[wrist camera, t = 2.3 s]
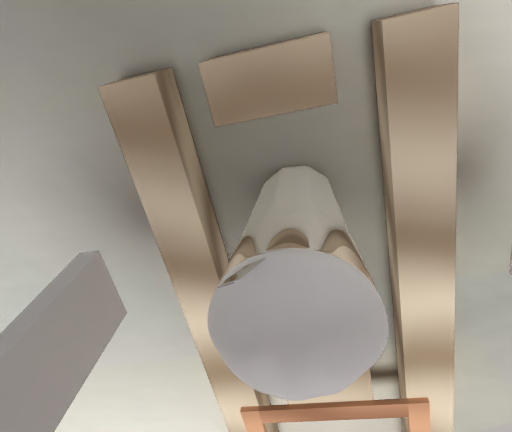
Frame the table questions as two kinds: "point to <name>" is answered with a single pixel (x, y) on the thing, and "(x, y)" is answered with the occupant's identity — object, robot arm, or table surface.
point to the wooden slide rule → (395, 190)
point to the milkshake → (297, 295)
